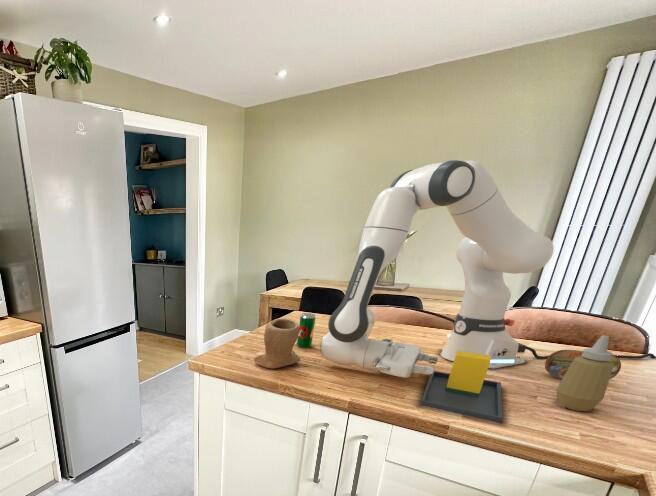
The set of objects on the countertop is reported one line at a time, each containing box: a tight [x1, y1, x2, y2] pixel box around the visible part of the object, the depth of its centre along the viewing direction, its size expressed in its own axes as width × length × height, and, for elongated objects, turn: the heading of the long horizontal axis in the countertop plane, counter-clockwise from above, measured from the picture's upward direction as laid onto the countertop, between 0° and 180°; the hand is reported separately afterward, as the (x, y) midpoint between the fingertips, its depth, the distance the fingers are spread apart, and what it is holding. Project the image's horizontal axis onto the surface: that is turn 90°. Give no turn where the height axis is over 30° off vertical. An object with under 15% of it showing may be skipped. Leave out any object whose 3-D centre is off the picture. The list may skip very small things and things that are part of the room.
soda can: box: [296, 312, 317, 349], centre depth 144 cm, size 5×5×12 cm
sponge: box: [446, 351, 491, 396], centre depth 104 cm, size 4×7×10 cm, turn 51°
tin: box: [544, 349, 622, 381], centre depth 111 cm, size 15×3×8 cm, turn 66°
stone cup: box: [253, 317, 301, 369], centre depth 126 cm, size 15×12×15 cm
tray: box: [419, 370, 503, 424], centre depth 103 cm, size 26×16×2 cm, turn 141°
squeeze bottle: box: [555, 335, 614, 412], centre depth 94 cm, size 8×8×18 cm
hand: (435, 365), depth 108 cm, fingers open, 8 cm apart
